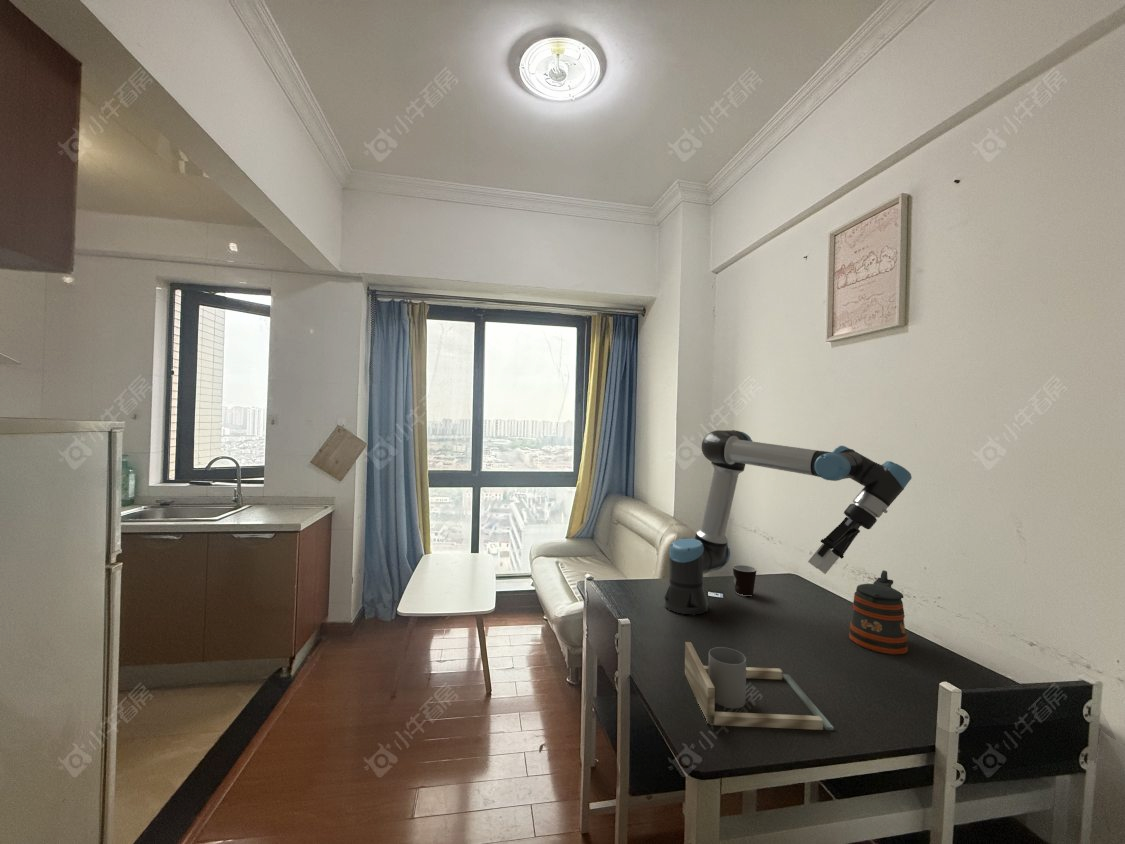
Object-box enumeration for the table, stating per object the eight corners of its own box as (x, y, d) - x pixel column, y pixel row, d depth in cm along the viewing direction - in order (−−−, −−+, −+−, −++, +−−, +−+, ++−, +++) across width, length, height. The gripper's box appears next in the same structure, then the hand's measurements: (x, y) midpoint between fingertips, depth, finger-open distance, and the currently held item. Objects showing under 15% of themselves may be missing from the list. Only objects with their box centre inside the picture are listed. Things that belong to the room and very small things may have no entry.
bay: (707, 724, 98) (707, 687, 98) (684, 672, 119) (685, 641, 119) (833, 730, 97) (834, 692, 97) (788, 676, 118) (788, 645, 118)
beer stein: (854, 624, 152) (855, 563, 152) (909, 637, 142) (910, 573, 142) (845, 644, 137) (846, 577, 137) (906, 660, 128) (907, 589, 128)
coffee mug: (754, 599, 171) (754, 573, 172) (730, 595, 176) (730, 569, 176) (759, 590, 181) (759, 565, 181) (736, 586, 186) (736, 561, 186)
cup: (744, 692, 111) (745, 650, 111) (746, 711, 103) (747, 667, 103) (708, 684, 114) (709, 644, 114) (707, 703, 106) (708, 660, 106)
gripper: (874, 509, 118) (821, 572, 120) (881, 527, 136) (835, 581, 138) (846, 492, 123) (795, 553, 125) (856, 511, 141) (812, 564, 143)
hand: (816, 568), depth 131 cm, fingers open, 13 cm apart
